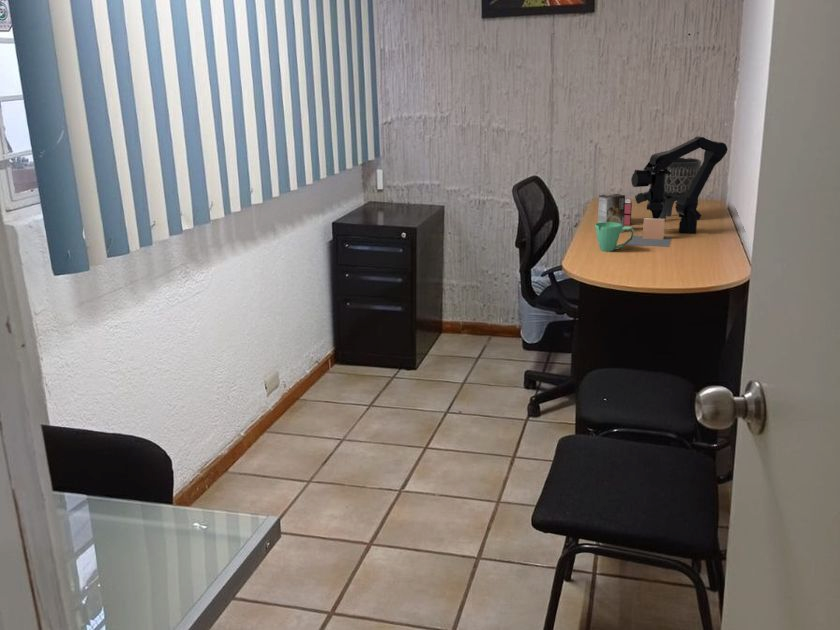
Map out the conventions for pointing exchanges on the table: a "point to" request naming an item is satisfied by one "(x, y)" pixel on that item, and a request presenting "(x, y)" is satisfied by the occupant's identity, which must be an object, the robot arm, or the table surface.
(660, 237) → the tile
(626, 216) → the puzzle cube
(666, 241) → the mat
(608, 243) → the mug
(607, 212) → the coffee box
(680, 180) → the planter
